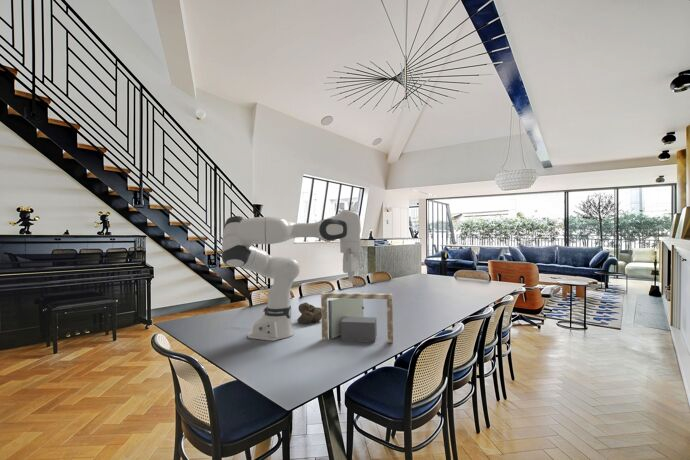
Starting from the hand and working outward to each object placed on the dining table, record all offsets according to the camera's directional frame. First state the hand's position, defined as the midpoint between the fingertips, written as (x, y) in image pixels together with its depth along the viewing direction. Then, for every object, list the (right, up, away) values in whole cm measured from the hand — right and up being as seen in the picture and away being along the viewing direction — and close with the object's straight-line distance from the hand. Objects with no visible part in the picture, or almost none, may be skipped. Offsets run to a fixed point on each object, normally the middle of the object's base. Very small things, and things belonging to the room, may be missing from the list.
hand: (351, 280), depth 130 cm
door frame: (+4, -30, +14) cm, 34 cm away
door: (-2, -30, +26) cm, 40 cm away
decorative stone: (-22, -32, +48) cm, 61 cm away
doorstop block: (+4, -31, +18) cm, 36 cm away
